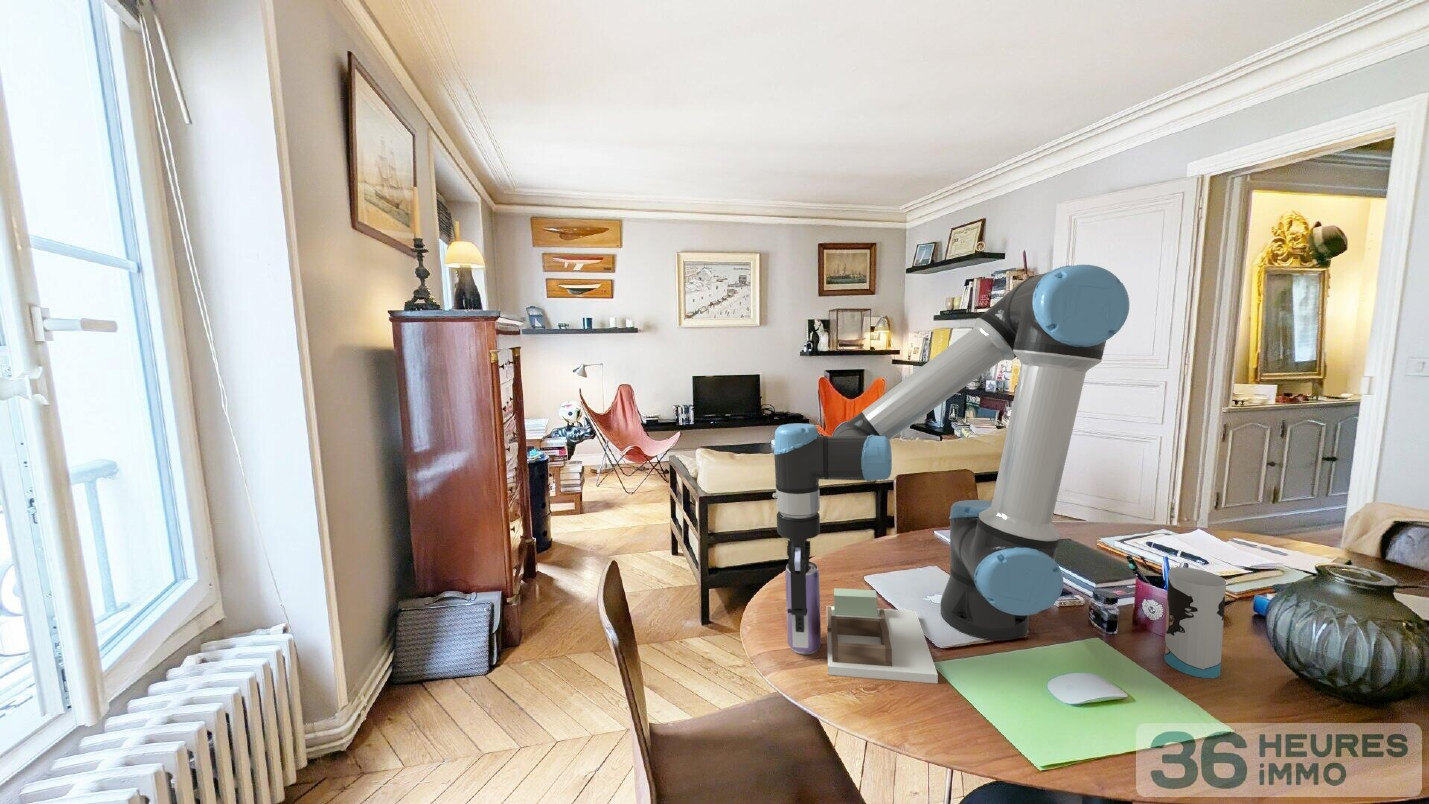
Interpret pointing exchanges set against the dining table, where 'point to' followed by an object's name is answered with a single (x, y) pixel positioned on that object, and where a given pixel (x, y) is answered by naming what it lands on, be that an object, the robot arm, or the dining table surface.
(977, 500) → the robot arm
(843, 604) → the block
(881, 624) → the socket
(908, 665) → the board
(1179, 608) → the cup
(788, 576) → the beverage can
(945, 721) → the dining table surface
